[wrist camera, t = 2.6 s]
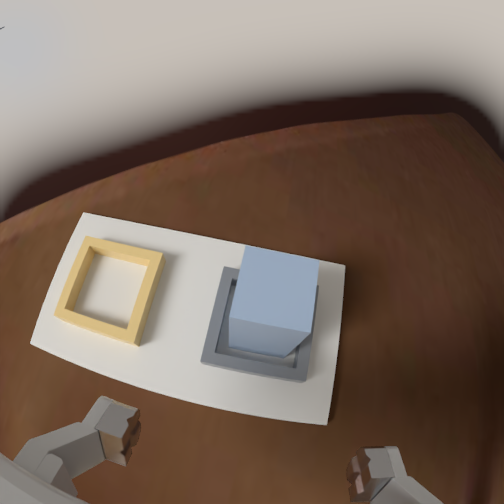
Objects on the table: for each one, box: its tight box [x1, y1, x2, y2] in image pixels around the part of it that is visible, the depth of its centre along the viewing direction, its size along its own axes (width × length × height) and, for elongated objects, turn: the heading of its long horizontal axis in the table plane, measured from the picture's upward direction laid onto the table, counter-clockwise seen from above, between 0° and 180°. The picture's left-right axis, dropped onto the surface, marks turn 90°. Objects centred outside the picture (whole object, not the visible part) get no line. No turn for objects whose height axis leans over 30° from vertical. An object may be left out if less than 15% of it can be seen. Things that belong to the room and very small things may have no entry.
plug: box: [229, 245, 319, 358], centre depth 19 cm, size 4×5×8 cm
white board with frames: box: [30, 212, 345, 425], centre depth 23 cm, size 24×13×2 cm, turn 79°
